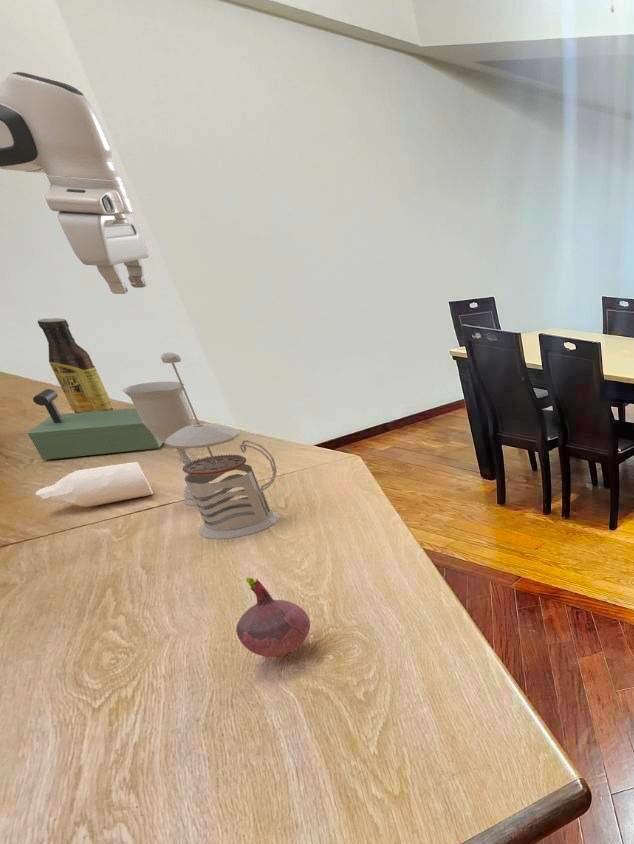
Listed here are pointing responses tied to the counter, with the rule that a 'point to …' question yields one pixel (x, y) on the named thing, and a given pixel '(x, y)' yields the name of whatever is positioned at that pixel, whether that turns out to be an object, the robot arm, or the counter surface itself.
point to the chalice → (164, 414)
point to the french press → (222, 515)
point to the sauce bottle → (74, 369)
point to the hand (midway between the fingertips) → (130, 290)
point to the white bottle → (99, 486)
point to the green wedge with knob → (89, 431)
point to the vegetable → (272, 625)
